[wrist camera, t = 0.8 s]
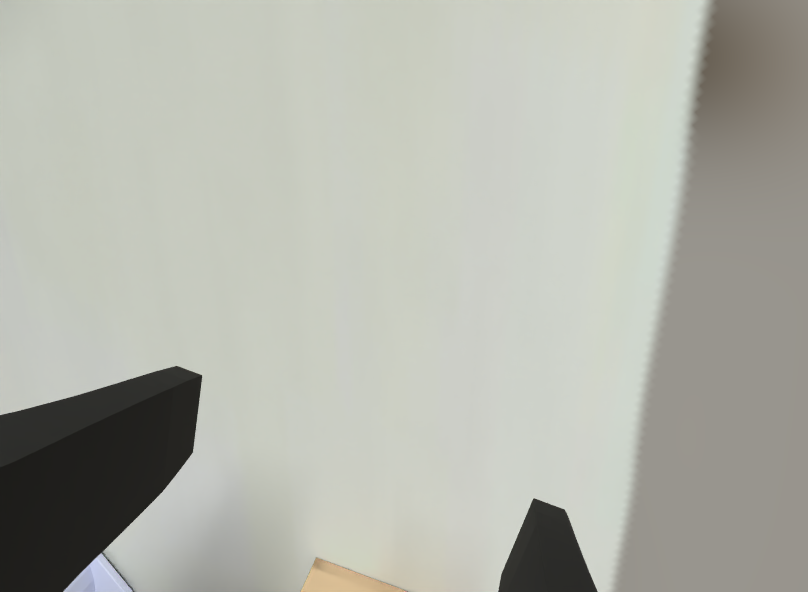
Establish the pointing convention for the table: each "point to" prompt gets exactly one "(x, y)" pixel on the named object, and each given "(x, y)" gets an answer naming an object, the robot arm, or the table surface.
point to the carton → (341, 580)
